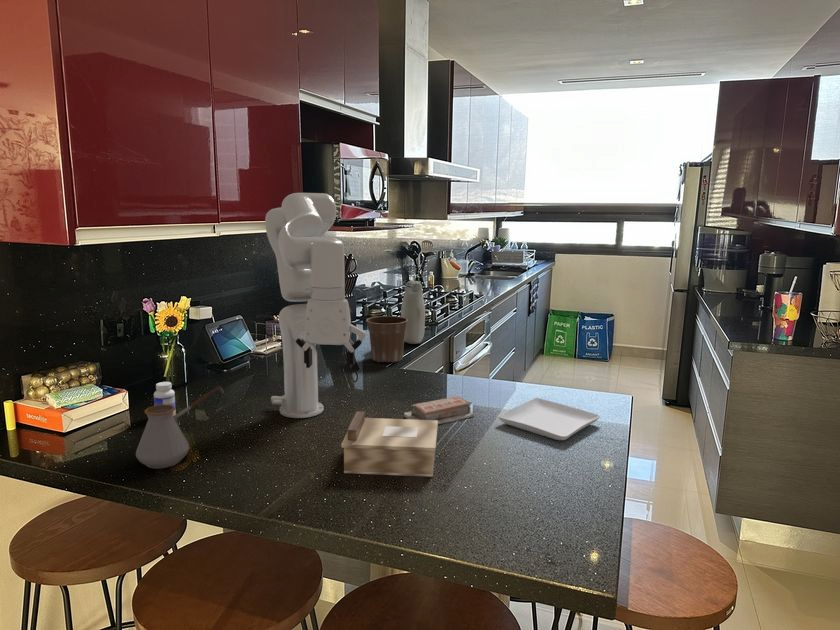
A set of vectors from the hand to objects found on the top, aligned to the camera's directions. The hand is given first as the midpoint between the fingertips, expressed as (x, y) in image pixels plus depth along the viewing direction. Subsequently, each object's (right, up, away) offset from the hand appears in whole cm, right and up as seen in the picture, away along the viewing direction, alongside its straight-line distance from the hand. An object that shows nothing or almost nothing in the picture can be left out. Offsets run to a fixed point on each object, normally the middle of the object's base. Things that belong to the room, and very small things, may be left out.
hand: (329, 366), depth 133 cm
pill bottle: (-51, -17, +29) cm, 61 cm away
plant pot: (+8, -6, +92) cm, 93 cm away
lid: (+14, -16, +2) cm, 22 cm away
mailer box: (+14, -22, +3) cm, 27 cm away
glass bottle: (+18, -1, +119) cm, 121 cm away
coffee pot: (-36, -22, +4) cm, 42 cm away
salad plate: (+57, -19, +26) cm, 66 cm away
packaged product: (+27, -18, +32) cm, 45 cm away
